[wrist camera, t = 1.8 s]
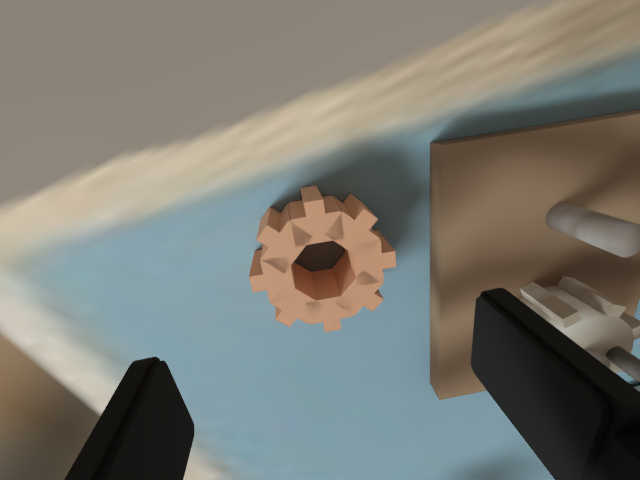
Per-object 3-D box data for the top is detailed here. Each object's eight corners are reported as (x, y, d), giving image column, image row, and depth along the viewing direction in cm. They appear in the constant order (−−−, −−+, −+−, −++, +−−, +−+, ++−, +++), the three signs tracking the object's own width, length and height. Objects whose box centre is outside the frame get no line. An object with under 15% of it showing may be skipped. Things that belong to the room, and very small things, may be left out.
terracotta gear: (381, 288, 20) (398, 318, 17) (268, 309, 19) (266, 343, 17) (373, 175, 17) (392, 187, 14) (241, 197, 17) (232, 214, 14)
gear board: (599, 349, 24) (699, 422, 18) (430, 383, 24) (478, 470, 18) (666, 105, 17) (858, 98, 12) (430, 142, 17) (508, 155, 11)
